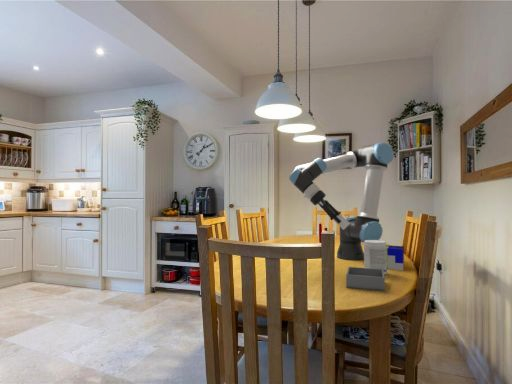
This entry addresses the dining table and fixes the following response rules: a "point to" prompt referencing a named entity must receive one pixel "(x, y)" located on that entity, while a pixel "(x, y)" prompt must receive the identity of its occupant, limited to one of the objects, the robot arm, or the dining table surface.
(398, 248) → the puzzle toy
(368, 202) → the robot arm
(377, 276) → the crate
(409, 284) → the dining table surface
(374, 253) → the supplement tub
